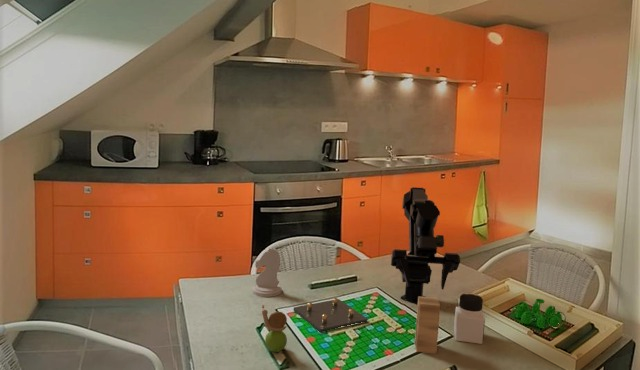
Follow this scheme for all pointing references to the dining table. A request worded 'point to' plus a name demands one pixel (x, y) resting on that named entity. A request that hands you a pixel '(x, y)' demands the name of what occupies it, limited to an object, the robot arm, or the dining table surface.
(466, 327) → the medicine bottle
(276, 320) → the snail figurine
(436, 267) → the dining table surface
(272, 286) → the chess piece
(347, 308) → the standoff plate
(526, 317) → the green bumpy clump
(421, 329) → the wood block
